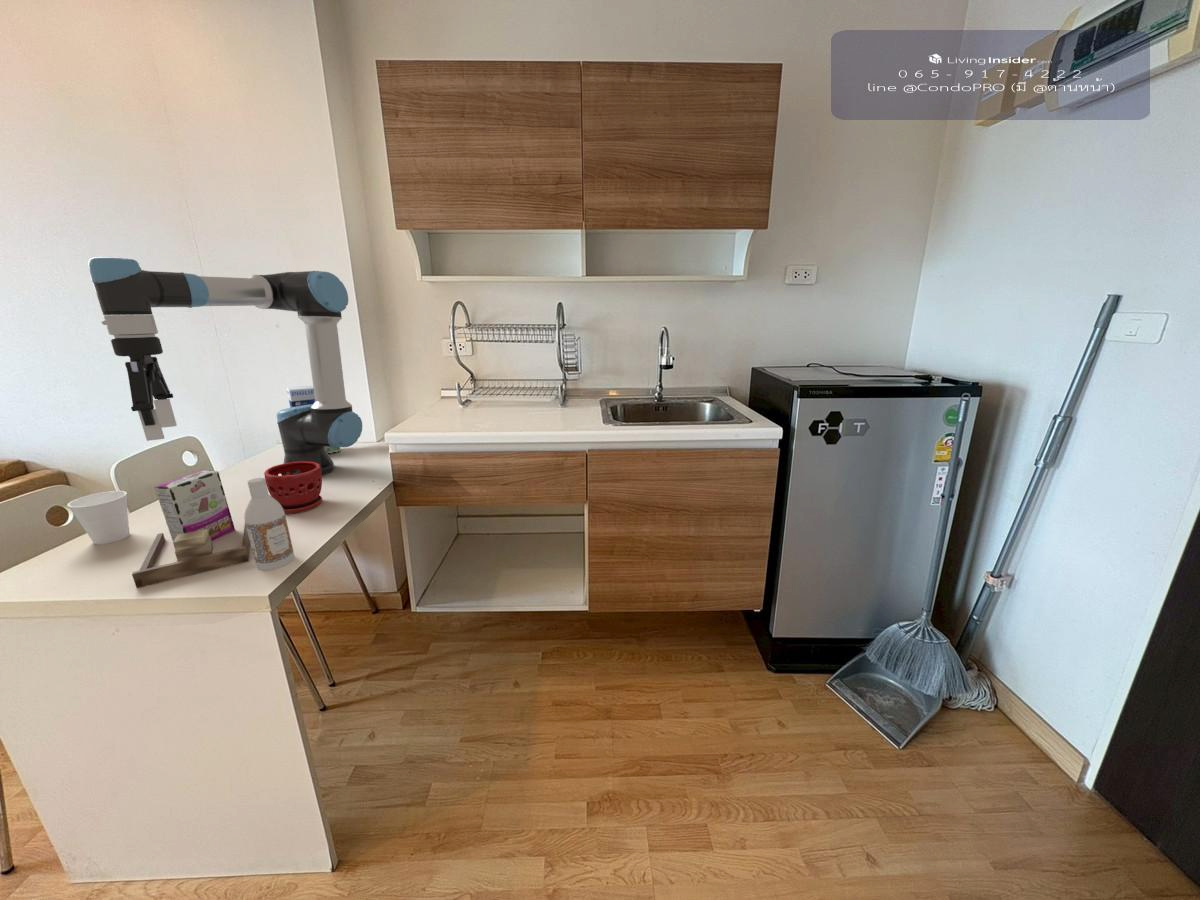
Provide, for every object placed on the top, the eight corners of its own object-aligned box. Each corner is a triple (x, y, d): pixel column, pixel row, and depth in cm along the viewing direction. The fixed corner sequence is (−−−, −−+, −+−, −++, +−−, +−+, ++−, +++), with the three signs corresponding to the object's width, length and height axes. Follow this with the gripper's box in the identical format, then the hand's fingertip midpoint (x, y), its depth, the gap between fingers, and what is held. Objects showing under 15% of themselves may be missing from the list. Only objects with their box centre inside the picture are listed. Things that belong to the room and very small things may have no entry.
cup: (114, 530, 118) (99, 490, 114) (151, 530, 117) (138, 490, 114) (70, 550, 108) (53, 507, 105) (111, 550, 108) (95, 507, 105)
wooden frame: (252, 524, 121) (249, 510, 120) (249, 564, 102) (245, 548, 101) (160, 543, 111) (155, 528, 110) (138, 591, 92) (131, 574, 91)
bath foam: (268, 577, 97) (246, 488, 91) (250, 568, 100) (228, 482, 94) (302, 561, 103) (283, 477, 97) (284, 554, 106) (265, 472, 100)
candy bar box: (220, 530, 118) (203, 469, 113) (236, 531, 117) (220, 470, 112) (173, 551, 107) (152, 486, 102) (190, 554, 106) (170, 487, 101)
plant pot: (280, 522, 122) (271, 479, 118) (267, 508, 130) (257, 468, 127) (334, 506, 131) (326, 466, 127) (318, 494, 139) (310, 457, 136)
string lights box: (302, 458, 173) (288, 390, 165) (299, 454, 178) (285, 387, 171) (341, 451, 181) (329, 386, 173) (337, 447, 186) (325, 383, 179)
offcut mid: (212, 546, 104) (210, 536, 103) (212, 554, 100) (209, 544, 100) (180, 553, 101) (176, 543, 100) (178, 562, 97) (174, 552, 96)
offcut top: (209, 537, 103) (207, 529, 102) (205, 544, 99) (203, 536, 99) (180, 542, 100) (177, 534, 100) (175, 550, 97) (172, 542, 96)
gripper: (127, 334, 106) (153, 424, 113) (89, 339, 86) (124, 448, 93) (170, 333, 110) (193, 420, 117) (143, 338, 90) (173, 442, 96)
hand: (162, 432), depth 105 cm, fingers open, 13 cm apart
